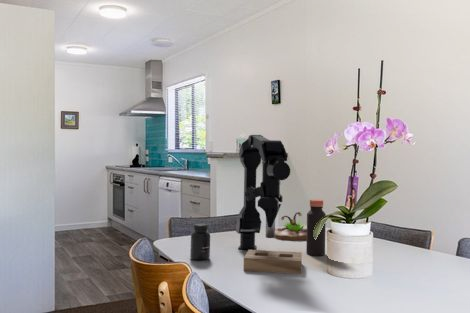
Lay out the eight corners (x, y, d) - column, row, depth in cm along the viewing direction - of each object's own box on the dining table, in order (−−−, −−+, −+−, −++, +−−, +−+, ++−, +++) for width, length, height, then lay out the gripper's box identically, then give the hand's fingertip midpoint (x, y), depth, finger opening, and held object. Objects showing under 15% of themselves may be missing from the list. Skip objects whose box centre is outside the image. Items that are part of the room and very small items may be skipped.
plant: (320, 242, 188) (320, 215, 188) (273, 241, 189) (274, 215, 189) (313, 233, 208) (313, 209, 208) (271, 232, 209) (271, 208, 209)
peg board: (248, 261, 152) (248, 249, 152) (301, 264, 150) (301, 252, 150) (243, 270, 141) (243, 257, 141) (301, 273, 138) (301, 260, 138)
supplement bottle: (207, 261, 151) (207, 226, 151) (187, 260, 152) (188, 225, 152) (212, 257, 158) (212, 223, 158) (193, 255, 159) (194, 222, 159)
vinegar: (302, 254, 164) (303, 200, 164) (312, 251, 169) (313, 198, 169) (318, 257, 160) (319, 201, 160) (328, 254, 165) (329, 200, 164)
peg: (266, 236, 147) (266, 205, 147) (275, 236, 146) (275, 206, 146) (265, 237, 144) (265, 207, 144) (274, 238, 143) (274, 207, 143)
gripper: (251, 176, 156) (250, 221, 156) (241, 179, 137) (241, 230, 137) (282, 177, 154) (282, 222, 154) (277, 180, 135) (277, 231, 135)
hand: (270, 226), depth 145 cm, fingers closed on peg, 3 cm apart
